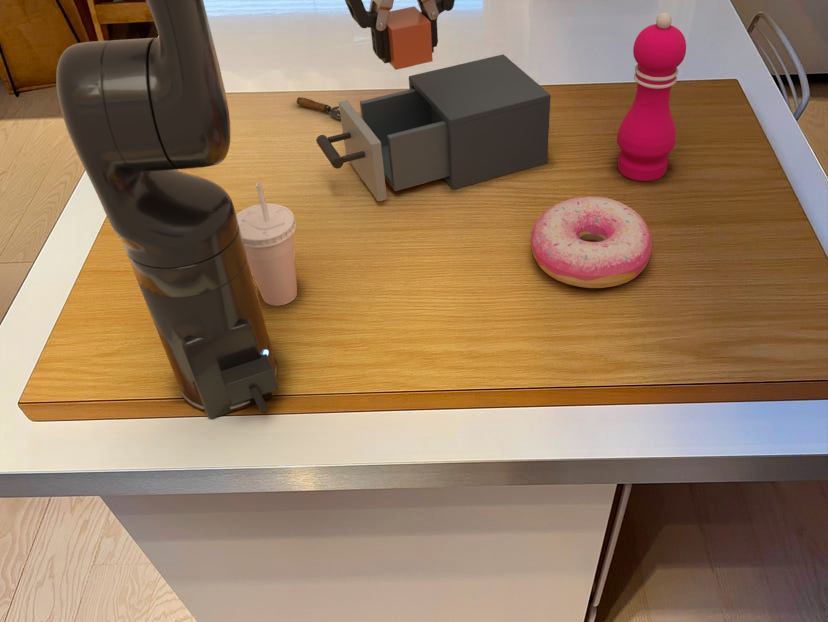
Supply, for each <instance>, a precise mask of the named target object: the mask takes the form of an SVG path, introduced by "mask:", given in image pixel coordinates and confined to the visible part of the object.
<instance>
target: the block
mask: <svg viewBox="0 0 828 622" xmlns="http://www.w3.org/2000/svg"><path fill="white" fill-rule="evenodd" d="M386 28H387V29H388V32H389V43H390V54H391V62H389V63H388V64H390V66H391V67H392V68H393V69H394V70H395V71H397V70H401V69H406V68H409V67H415V66H419V65H423V64H427V63H432V62H433V53H432V40H431V22H430V21H429V20H428V19H427V18H426V17H425V16H424V15H423V14H422V13H421V10H420V9H418V8H417V7H416V6H410V7H405V8H404V7H403V8H400V9H395V10H390V12H389V17H388V23H387V27H386Z"/></svg>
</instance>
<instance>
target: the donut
mask: <svg viewBox="0 0 828 622" xmlns="http://www.w3.org/2000/svg"><path fill="white" fill-rule="evenodd" d="M652 246H653V242H652V235H651V232H650V230H649V227H648V225H647V223H646V221H645V220H644V219H643V217H642V216H641V215H640V214H639V213H638V212H636V211H635V209H633V208H631V207H630V206H628V205H626V204H625V203H622V202H620V201H617V200H615V199H612V198H608V197H604V196H593V195H591V196H579V197H573V198H570V199H567V200H563V201H561V202H559V203H557V204H554V205H552V206H550V207H549V208H547V209H546V210H545V211H544V212H542V214H541V215H540V216H539V217H538V218H537V220H536V221H535V223H534V225H533V227H532V229H531V232H530V249H531V253H532V256H533V257H534V259H535V261H536V263H537V264H538V267H540V269H542V271H544V273H546V274H547V275H548V276H550V277H551V278H553V279H554V280H555V281H558V282H561V283H563V284H567V285H570V286H574V287H578V288H585V289H586V288H588V289H602V288H603V289H604V288H610V287H616V286H617V287H618V286H620V285H622V284H626V283H628V282H630V281H632V280H634V279H635V278H637V277H638V276H639V275H640V273H642V272H643V271H644V269H645V268H646V267H647V265H648V263H649V261H650V259H651V255H652V254H651V253H652Z"/></svg>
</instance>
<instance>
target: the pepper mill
mask: <svg viewBox="0 0 828 622" xmlns="http://www.w3.org/2000/svg"><path fill="white" fill-rule="evenodd" d="M672 23H673V18H672V15H671V14H670V13H669V12H666V11H664V12H661V13H658V15H657V16H656V18H655V23H654V24H650V25H648V26H646V27H644V28H643V29H642V30H641V31H640V32H639V33H638V34H637V36H636V37H635V41H634V43H633V47H632V53H633V59H634V61H635V62H636V63H637V64H636V65H635V67H634V72H635V73H634V74H633V80H634V81H635V82H636V93H635V98H634V100H633V103H632V104H631V106H630V108H629V110H628V111H627V113H626V114H625V116H624V117H623V119H622V121H621V123H620V125H619V127H618V132H617V135H616V142H617V146H618V148H619V149H620V151H619V154H618V157H617V158H618V159H617V170H618V172H619V173H620V174H621V175H622V176H624V177H625V178H627V179H629V180H632V181H637V182H653V181H656V180H659V179H661V178H662V177H664V175H665V174H666V173H667V170H668V169H667V168H668V163H669V156H668V155H669V154H671V152H672V151H673V149H674V148H675V145H676V138H677V132H676V125H675V122H674V118H673V115H672V112H671V108H670V97H671V96H670V95H671V89H672V86H674V85H675V84H676V83H677V81H678V77H677V76H678V75H679V69H678V67H679V66H680V65H681V64H682V63H683V61H684V59H685V57H686V53H687V41H686V37H685V35H684V34H683V33H682V31H681V30H680V29H679V28H677V26H674V25H672Z"/></svg>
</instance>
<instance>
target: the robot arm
mask: <svg viewBox="0 0 828 622" xmlns="http://www.w3.org/2000/svg"><path fill="white" fill-rule="evenodd" d="M394 1H395V0H370V3H369V9H368V10H366V7H365V4H364V1H363V0H344V3H345V4H346V6H347V9H348V11H349V13H350V16H351V18H352V19H353V20H354V21H355V22H356V24H357V25H358V26H359V27H360V28H362V29H367V28H368V29H370V34H371V43H372V51H373V53H374V54H375V56H376V57H377V58H378V59H379V60H381V61H382V63H383V64H390V63H389V62H391V54H390V43H389V32H388V29H387V28H386V27H387V23H388V17H389V12H390V11H392V10H393V6H394V3H395V2H394ZM455 1H456V0H416V2H417V4H418V7H419V11H420V12H421V13H422V14H423V15H424V16H425V17H426V18H427V19H428V20H429V21H430V22H431V40H432V54H434V53H435V48H437V47H438V43H439V36H438V18H439V16H440V15H441V14H442V13H443V12H445V11H446V12H451V11H452V10H453V8H454V6H455ZM145 2H146V5H147V8H148V9H149V12H150V14H151V17H152V20H153V24H154V26H155V28H156V29H155V30H156V32H157V37H146V38H130V39H129V38H128V39H113V40H96V41H93V40H92V41H84V42H78V43H74V44H71V45H70V46H68V47H66V48H65V50H64V51H63V52H62V53H61V55H60V57H59V59H58V62H57V66H56V76H55V82H56V83H55V84H56V94H57V99H58V104H59V108H60V112H61V115H62V119H63V121H64V124H65V127H66V130H67V133H68V136H69V138H70V140H71V142H72V145H73V147H74V149H75V151H76V153H77V156H78V158H79V160H80V162H81V164H82V166H83V168H84V170H85V173H86V174H87V177H88V179H89V181H90V182H91V185H92V187H93V190H94V191H95V193H96V195H97V198H98V199H99V202H100V204H101V206H102V209H103V211H104V214H105V216H106V217H107V220H108V223H109V224H110V226H111V228H112V230H113V232H114V233H115V234H116V236H117V237H118V238H119V239H120V241H121V243H122V245H123V248H124V250H125V254H126V256H127V258H128V261H129V263H130V265H131V268H132V271H133V273H134V276H135V279H136V281H137V283H138V287H139V288H140V291H141V294H142V296H143V298H144V302H145V304H146V307H147V309H148V312H149V315H150V317H151V320H152V322H153V324H154V326H155V329H156V332H157V335H158V337H159V339H160V342H161V344H162V347H163V349H164V352H165V354H166V357H167V360H168V362H169V364H170V367H171V369H172V370H173V374H174V377H175V379H176V382H177V386H178V389H179V393H180V395H181V397H182V399H183V400H184V401H185V402H186V403H187V404H188V405H189V406H190V407H193V408H194V409H196V410H199V411H202V412H205V415H206V416H207V419H209V420H211V419H215V418H218V417H220V416H223V415H226V414H229V413H232V412H235V411H238V410H242V409H244V408H247V407H249V406H250V407H251V406H252V405H255V404H256V406H257V407H258V409H259V410H260V412H263V413H264V412H267V410H268V405H267V403H266V400H270V399H272V398H273V397H274V396H273V392H275V391H277V390H279V384H278V381H277V378H278V373H279V366H278V362H277V358H276V356H275V354H274V351H273V348H272V343H271V340H270V336H269V333H268V329H267V325H266V322H265V318H264V314H263V310H262V306H261V303H260V299H259V296H258V293H257V288H256V285H255V282H254V281H255V280H254V277H253V275H252V272H251V270H250V266H249V262H248V259H247V255H246V251H245V247H244V243H243V239H242V236H241V232H240V228H239V224H238V220H237V216H236V214H237V213H236V208H235V205H234V202H233V200H232V198H231V196H230V195H229V193H228V192H227V191H226V190H225V189H224V188H223V187H222V186H220V185H219V184H218V183H216V182H214V181H212V180H209V179H208V178H204V177H201V176H198V175H195V174H190V173H186V172H183V171H180V170H188V169H199V168H208V167H213V166H217V165H219V164H221V163H223V162H224V160H225V159H226V157H227V155H228V154H229V150H230V146H231V119H230V118H231V117H230V109H229V104H228V99H227V93H226V89H225V85H224V80H223V75H222V72H221V67H220V62H219V59H218V58H219V57H218V54H217V50H216V46H215V42H214V38H213V35H212V31H211V26H210V23H209V18H208V15H207V11H206V7H205V2H204V0H145Z"/></svg>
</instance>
